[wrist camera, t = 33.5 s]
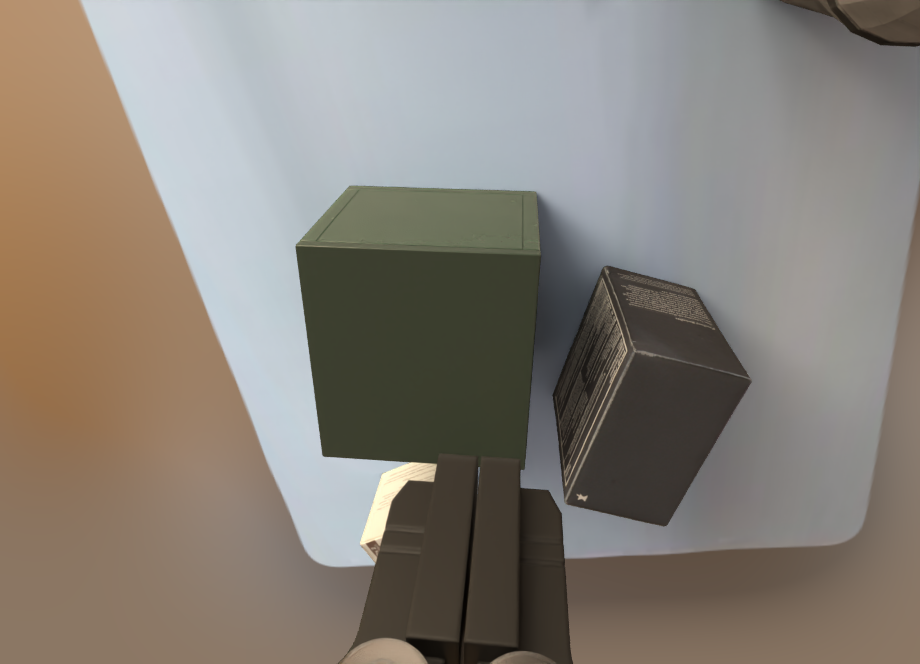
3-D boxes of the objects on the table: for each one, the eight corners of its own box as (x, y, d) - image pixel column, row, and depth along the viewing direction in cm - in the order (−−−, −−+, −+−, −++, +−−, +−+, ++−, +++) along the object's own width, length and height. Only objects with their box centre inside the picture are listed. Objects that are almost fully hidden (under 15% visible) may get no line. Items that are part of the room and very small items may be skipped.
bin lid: (524, 463, 33) (524, 470, 32) (325, 450, 34) (322, 456, 33) (540, 249, 27) (541, 254, 27) (298, 240, 28) (294, 245, 27)
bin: (524, 358, 41) (525, 448, 33) (363, 350, 42) (325, 435, 34) (536, 191, 35) (540, 249, 27) (349, 185, 36) (299, 240, 28)
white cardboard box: (484, 499, 48) (478, 577, 41) (420, 522, 50) (405, 600, 43) (444, 445, 45) (431, 519, 39) (379, 472, 47) (356, 547, 41)
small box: (638, 418, 43) (670, 534, 33) (549, 396, 42) (557, 507, 33) (702, 288, 37) (761, 383, 28) (602, 262, 37) (628, 349, 28)
